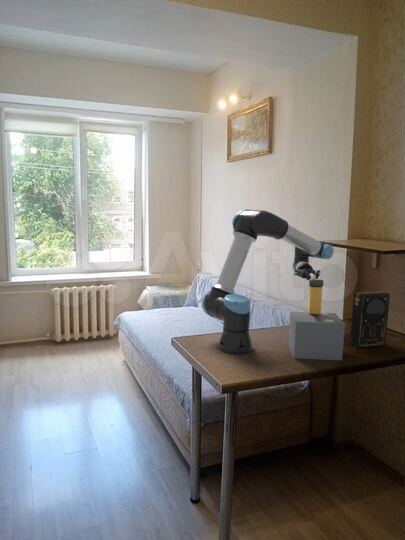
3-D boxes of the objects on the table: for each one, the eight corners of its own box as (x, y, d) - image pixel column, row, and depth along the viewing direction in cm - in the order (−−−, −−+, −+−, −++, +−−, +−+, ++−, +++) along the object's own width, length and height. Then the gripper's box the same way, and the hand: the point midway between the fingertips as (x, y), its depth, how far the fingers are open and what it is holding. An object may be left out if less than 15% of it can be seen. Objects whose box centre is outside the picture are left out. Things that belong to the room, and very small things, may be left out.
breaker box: (293, 358, 178) (296, 321, 176) (288, 345, 194) (290, 311, 191) (342, 360, 177) (345, 323, 175) (332, 347, 193) (335, 312, 190)
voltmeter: (358, 348, 191) (362, 295, 187) (347, 342, 200) (351, 291, 196) (387, 346, 196) (392, 293, 191) (375, 340, 204) (379, 289, 200)
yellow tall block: (308, 313, 186) (310, 280, 184) (307, 311, 190) (309, 278, 187) (321, 314, 186) (323, 280, 184) (319, 312, 189) (321, 279, 187)
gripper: (316, 277, 216) (327, 287, 193) (291, 277, 217) (299, 286, 194) (317, 263, 215) (328, 271, 192) (291, 262, 216) (299, 270, 192)
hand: (313, 278), depth 193 cm, fingers closed
